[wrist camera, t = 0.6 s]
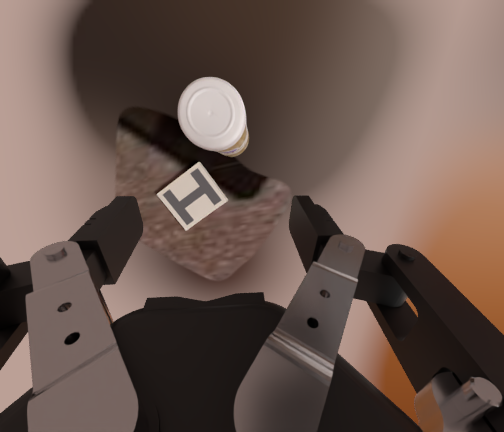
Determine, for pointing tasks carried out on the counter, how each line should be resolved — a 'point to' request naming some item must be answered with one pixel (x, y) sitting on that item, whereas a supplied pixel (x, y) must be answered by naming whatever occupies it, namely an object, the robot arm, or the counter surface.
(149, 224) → the counter surface
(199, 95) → the sprinkles bottle
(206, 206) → the letter card
